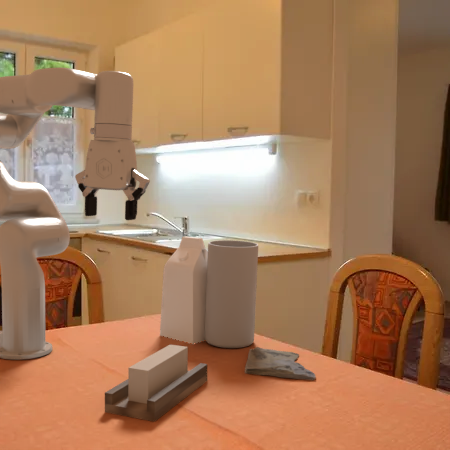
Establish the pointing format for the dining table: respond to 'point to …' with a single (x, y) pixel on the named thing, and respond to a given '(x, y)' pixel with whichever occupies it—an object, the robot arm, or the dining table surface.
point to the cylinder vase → (231, 293)
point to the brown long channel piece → (155, 396)
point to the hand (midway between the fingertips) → (110, 217)
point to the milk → (185, 292)
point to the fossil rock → (276, 364)
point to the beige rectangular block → (156, 372)
